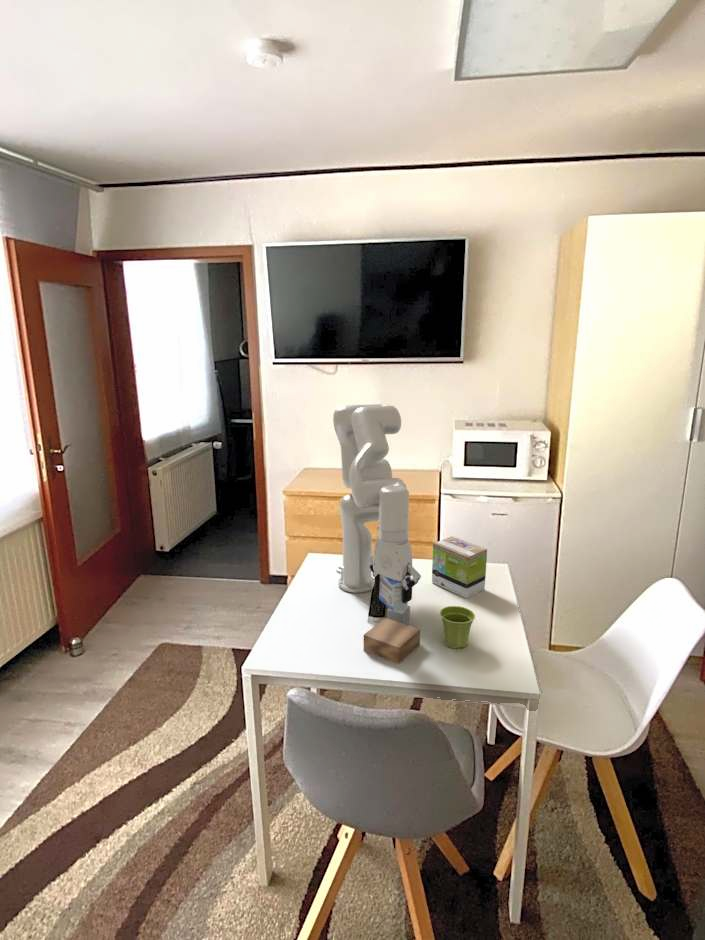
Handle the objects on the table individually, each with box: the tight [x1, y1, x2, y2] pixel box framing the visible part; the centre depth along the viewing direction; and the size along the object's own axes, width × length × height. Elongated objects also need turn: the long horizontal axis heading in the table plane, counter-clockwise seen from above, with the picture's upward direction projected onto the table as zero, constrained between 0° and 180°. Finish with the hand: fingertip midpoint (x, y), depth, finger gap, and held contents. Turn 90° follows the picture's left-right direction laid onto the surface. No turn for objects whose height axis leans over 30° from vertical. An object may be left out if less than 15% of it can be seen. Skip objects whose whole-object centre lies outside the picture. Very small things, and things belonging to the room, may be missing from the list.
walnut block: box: [363, 617, 421, 665], centre depth 154 cm, size 11×11×5 cm
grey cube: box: [386, 605, 411, 625], centre depth 166 cm, size 5×5×5 cm
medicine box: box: [378, 575, 409, 612], centre depth 150 cm, size 8×4×9 cm, turn 26°
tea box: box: [431, 536, 488, 599], centre depth 188 cm, size 15×10×15 cm
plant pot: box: [439, 605, 476, 649], centre depth 156 cm, size 9×9×9 cm
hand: (392, 595), depth 151 cm, fingers closed on medicine box, 9 cm apart
